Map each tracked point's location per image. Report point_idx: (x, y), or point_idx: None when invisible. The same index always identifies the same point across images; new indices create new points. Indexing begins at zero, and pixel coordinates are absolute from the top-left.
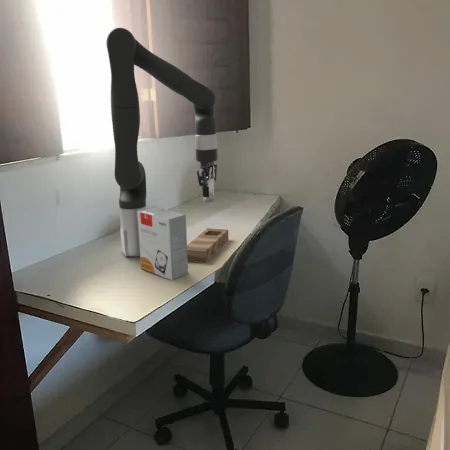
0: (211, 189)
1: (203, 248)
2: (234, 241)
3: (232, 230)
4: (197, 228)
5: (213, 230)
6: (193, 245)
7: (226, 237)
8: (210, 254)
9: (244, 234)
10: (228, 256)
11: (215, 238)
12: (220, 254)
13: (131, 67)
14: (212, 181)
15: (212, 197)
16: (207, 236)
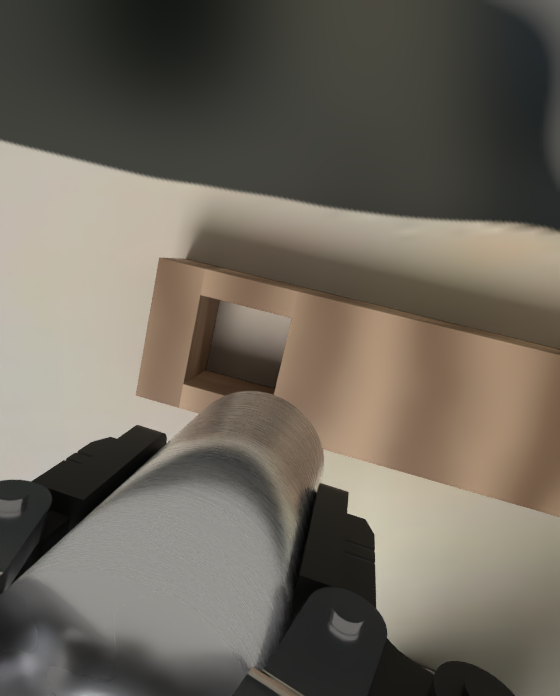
0: (273, 493)
1: (554, 387)
2: (211, 219)
3: (22, 250)
4: (9, 448)
5: (179, 353)
6: (487, 455)
7: (210, 267)
8: (507, 338)
9: (84, 170)
10: (480, 230)
11: (344, 326)
12: (442, 282)
13: None
14: (196, 561)
15: (288, 428)
16: (302, 381)
